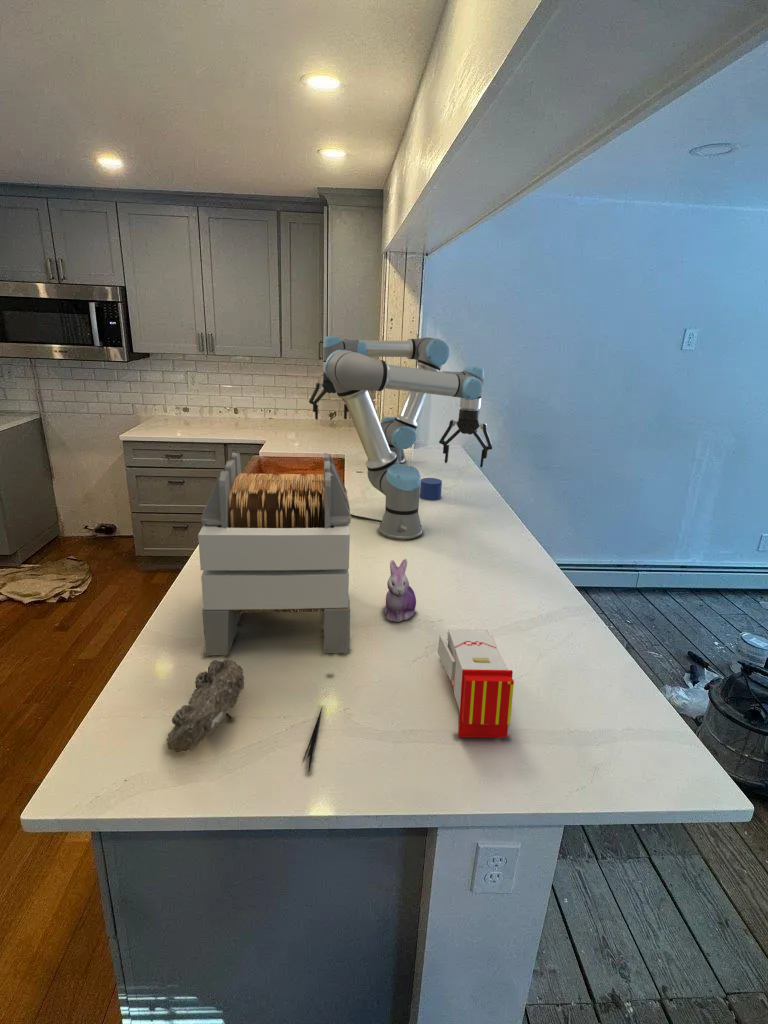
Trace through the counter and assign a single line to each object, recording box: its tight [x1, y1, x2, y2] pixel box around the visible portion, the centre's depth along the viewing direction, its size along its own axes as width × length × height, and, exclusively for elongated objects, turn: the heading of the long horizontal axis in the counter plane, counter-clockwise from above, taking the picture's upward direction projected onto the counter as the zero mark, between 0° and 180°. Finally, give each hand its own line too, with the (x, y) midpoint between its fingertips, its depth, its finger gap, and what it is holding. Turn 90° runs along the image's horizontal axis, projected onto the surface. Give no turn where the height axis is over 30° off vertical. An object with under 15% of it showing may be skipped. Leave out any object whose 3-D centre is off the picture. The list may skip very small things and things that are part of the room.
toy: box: [437, 628, 515, 738], centre depth 117 cm, size 12×13×30 cm
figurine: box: [384, 558, 417, 623], centre depth 145 cm, size 9×10×15 cm
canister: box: [419, 477, 443, 501], centre depth 240 cm, size 9×9×7 cm
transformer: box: [197, 451, 352, 657], centre depth 136 cm, size 34×33×41 cm
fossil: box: [166, 658, 245, 754], centre depth 106 cm, size 22×10×15 cm
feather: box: [301, 673, 332, 771], centre depth 108 cm, size 2×28×2 cm
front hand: (463, 464), depth 218 cm, fingers open, 13 cm apart
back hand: (330, 418), depth 264 cm, fingers open, 13 cm apart
